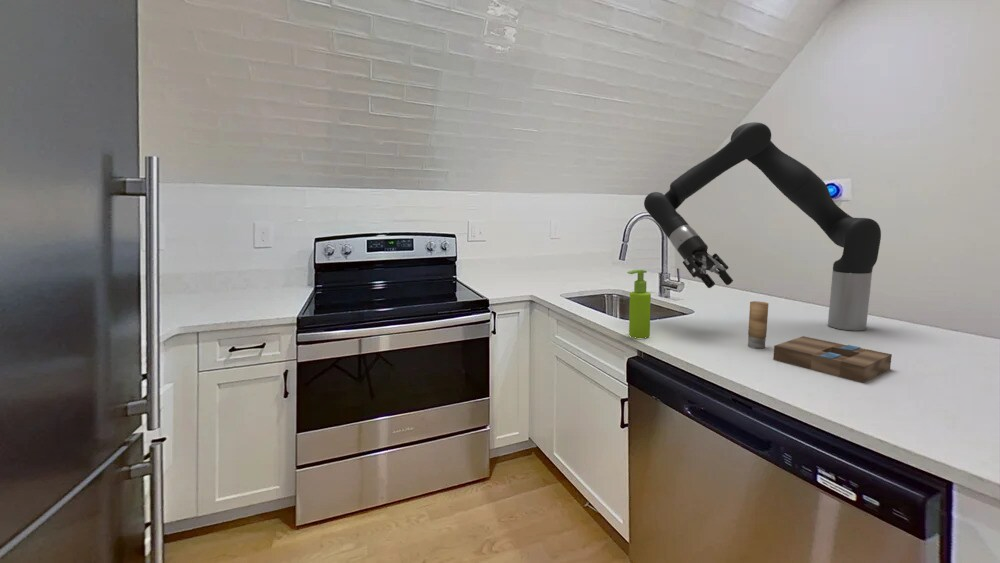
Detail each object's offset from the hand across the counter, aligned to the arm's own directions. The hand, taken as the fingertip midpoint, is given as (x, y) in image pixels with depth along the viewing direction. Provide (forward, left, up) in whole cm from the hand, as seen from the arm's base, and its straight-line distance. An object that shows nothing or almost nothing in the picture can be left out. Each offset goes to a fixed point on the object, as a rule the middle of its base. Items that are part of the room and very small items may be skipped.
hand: (721, 284), depth 123 cm
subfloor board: (0, +28, -15) cm, 32 cm away
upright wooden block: (0, +11, -16) cm, 19 cm away
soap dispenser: (+18, -14, -16) cm, 28 cm away
